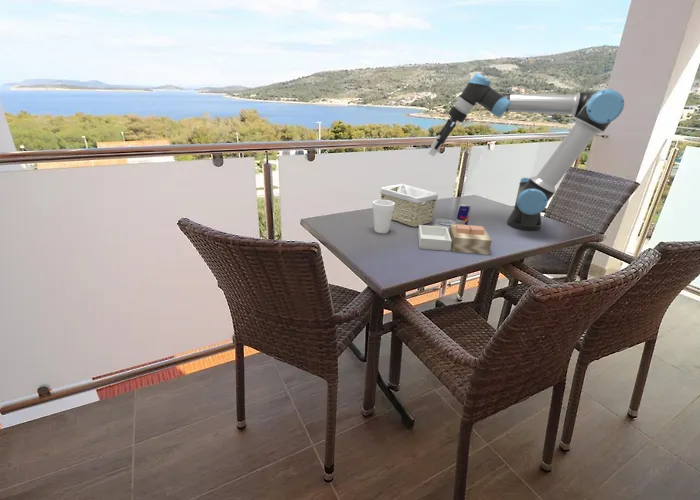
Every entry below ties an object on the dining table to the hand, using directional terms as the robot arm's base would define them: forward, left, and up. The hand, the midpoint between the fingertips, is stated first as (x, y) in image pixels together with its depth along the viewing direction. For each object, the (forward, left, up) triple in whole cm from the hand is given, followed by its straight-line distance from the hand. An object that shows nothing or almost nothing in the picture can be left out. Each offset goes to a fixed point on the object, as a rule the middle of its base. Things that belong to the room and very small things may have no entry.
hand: (431, 151), depth 173 cm
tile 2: (-19, +34, -26) cm, 47 cm away
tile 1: (-13, +34, -26) cm, 45 cm away
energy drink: (-16, +15, -33) cm, 39 cm away
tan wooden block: (-16, +34, -32) cm, 49 cm away
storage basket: (+9, +5, -33) cm, 34 cm away
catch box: (-2, +34, -32) cm, 47 cm away
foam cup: (+20, +25, -33) cm, 45 cm away
